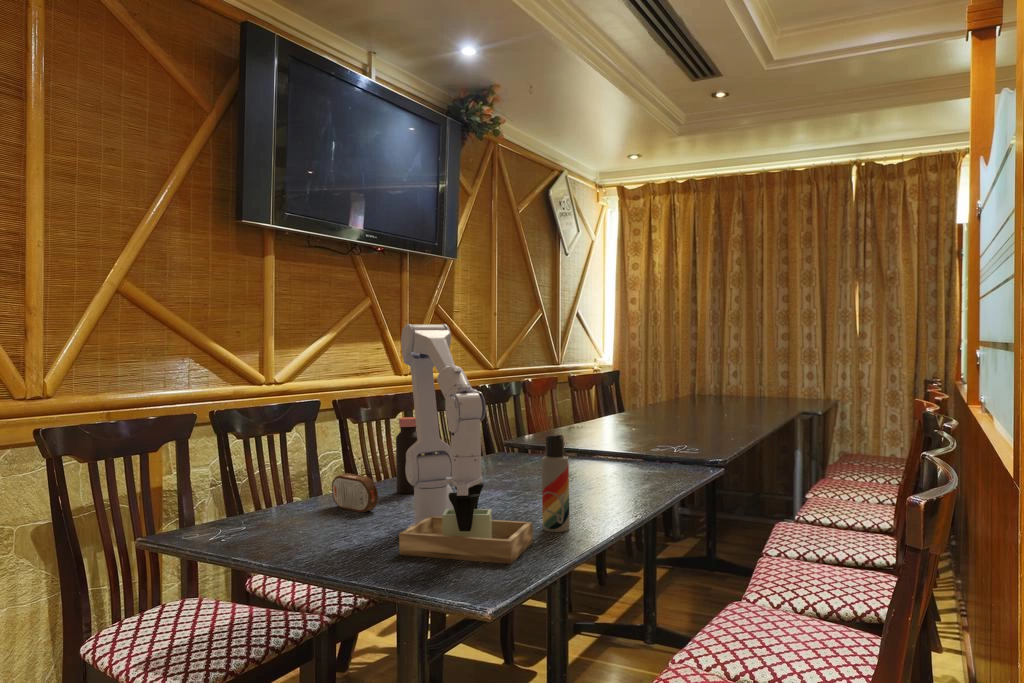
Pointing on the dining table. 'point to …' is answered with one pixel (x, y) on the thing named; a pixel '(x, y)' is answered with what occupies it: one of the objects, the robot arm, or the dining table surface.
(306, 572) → the dining table surface
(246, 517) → the dining table surface
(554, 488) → the lotion bottle
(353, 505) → the tin
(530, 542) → the pine crate
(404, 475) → the vinegar
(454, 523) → the small crate
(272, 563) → the dining table surface
